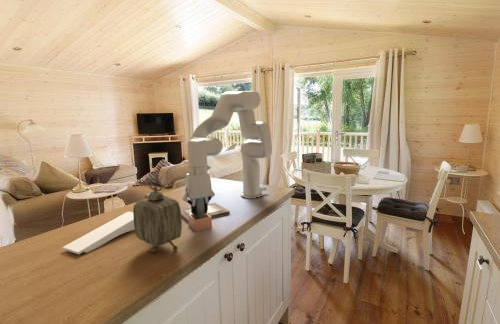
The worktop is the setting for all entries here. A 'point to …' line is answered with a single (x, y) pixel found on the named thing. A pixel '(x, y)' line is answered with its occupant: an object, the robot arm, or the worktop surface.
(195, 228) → the orange square open box
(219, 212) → the writing board
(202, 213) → the marker
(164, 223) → the tabletop clock
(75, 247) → the white wedge
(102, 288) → the worktop surface
